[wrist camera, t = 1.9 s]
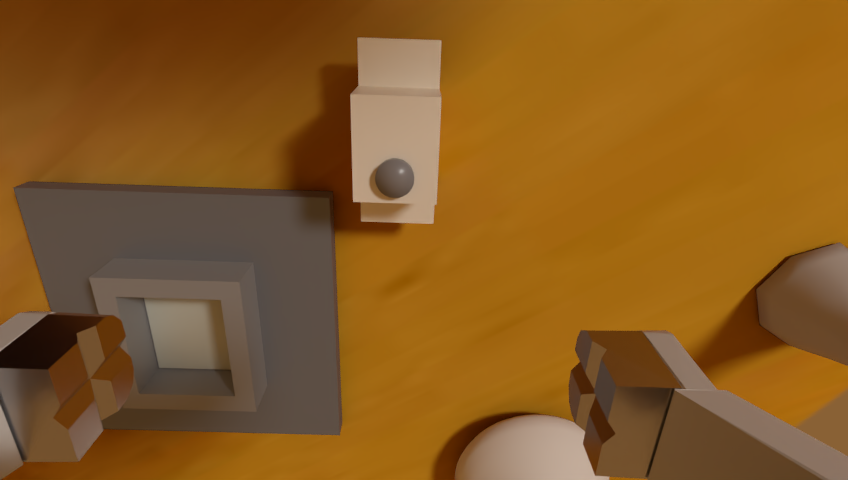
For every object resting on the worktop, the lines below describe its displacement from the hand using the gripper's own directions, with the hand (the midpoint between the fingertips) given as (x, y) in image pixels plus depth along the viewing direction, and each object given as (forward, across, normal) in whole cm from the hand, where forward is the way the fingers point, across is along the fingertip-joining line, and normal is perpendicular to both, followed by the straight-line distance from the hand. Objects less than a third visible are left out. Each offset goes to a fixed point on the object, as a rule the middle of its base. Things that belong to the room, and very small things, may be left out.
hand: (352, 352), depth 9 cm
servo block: (+21, 0, 0) cm, 21 cm away
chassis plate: (+21, +13, +13) cm, 28 cm away
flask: (+21, -27, +10) cm, 36 cm away
